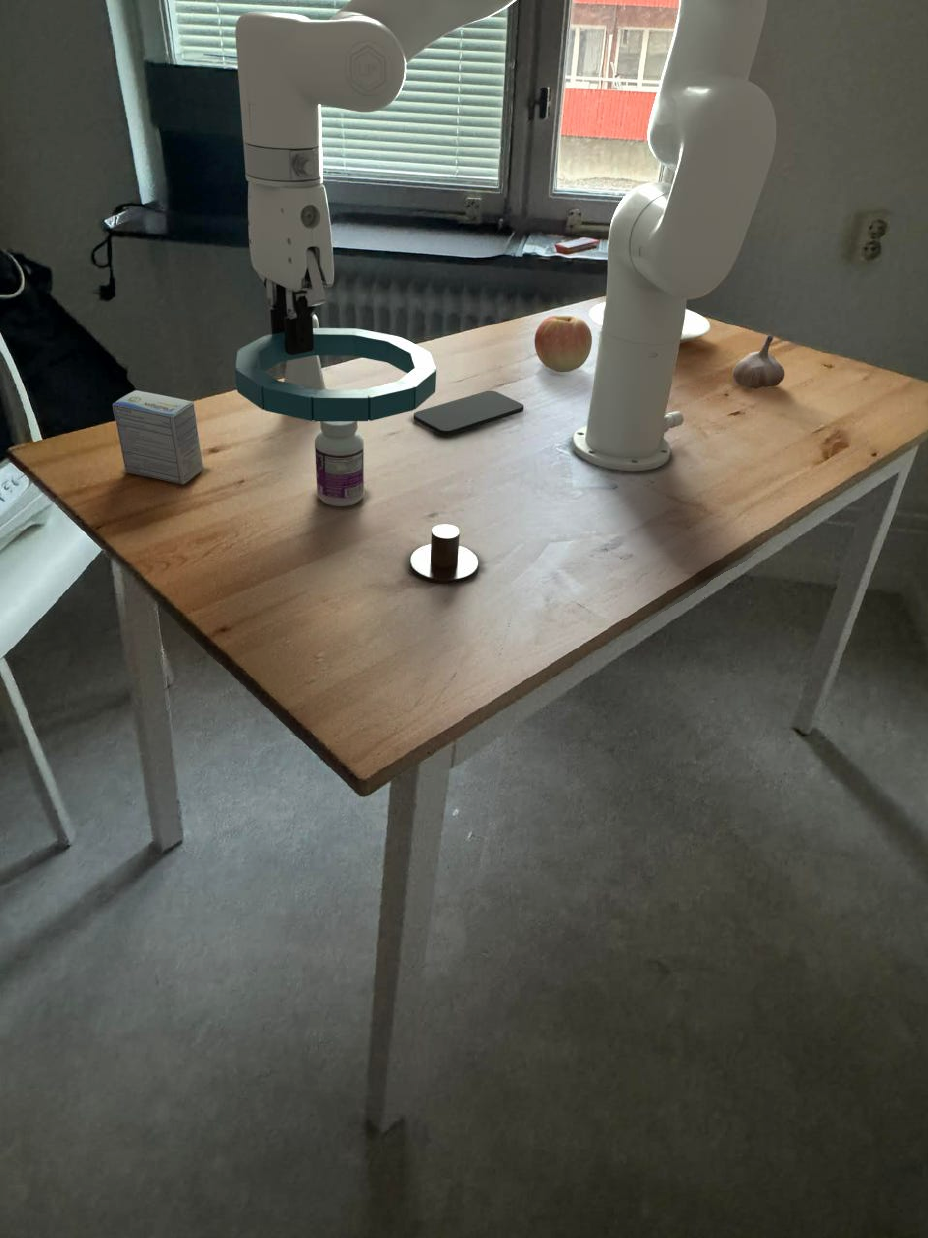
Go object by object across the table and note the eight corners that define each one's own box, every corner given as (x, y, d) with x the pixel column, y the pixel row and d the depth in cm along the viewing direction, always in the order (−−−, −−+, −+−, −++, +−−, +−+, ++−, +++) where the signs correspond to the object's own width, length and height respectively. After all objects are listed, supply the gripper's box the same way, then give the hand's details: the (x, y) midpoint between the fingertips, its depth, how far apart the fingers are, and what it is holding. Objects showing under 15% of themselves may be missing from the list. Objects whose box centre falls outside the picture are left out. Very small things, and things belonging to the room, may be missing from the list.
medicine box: (204, 470, 104) (195, 400, 99) (183, 486, 101) (172, 415, 96) (147, 457, 106) (135, 388, 101) (124, 473, 103) (110, 402, 97)
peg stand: (449, 540, 95) (451, 507, 92) (492, 570, 90) (495, 536, 88) (396, 559, 91) (396, 525, 89) (437, 591, 87) (439, 557, 84)
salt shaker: (318, 421, 117) (314, 323, 109) (277, 415, 118) (270, 317, 110) (332, 405, 122) (330, 309, 114) (293, 399, 123) (287, 304, 115)
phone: (409, 413, 119) (491, 388, 127) (409, 419, 119) (490, 394, 128) (445, 432, 115) (527, 406, 123) (445, 438, 115) (526, 411, 123)
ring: (363, 338, 105) (363, 317, 103) (471, 395, 92) (473, 373, 91) (204, 368, 94) (201, 346, 92) (302, 438, 81) (301, 413, 80)
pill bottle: (318, 484, 103) (314, 406, 97) (364, 485, 103) (363, 407, 98) (316, 507, 99) (312, 426, 93) (364, 508, 99) (363, 427, 93)
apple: (551, 381, 134) (557, 328, 129) (521, 361, 140) (526, 310, 135) (598, 374, 137) (606, 323, 132) (567, 355, 143) (574, 305, 139)
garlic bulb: (785, 384, 139) (800, 333, 134) (772, 398, 133) (786, 346, 129) (738, 372, 142) (751, 322, 137) (723, 386, 136) (736, 334, 132)
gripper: (360, 176, 84) (361, 365, 95) (277, 148, 94) (286, 322, 105) (291, 181, 80) (300, 378, 91) (211, 151, 90) (228, 332, 101)
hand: (293, 346), depth 98 cm, fingers closed on ring, 2 cm apart
